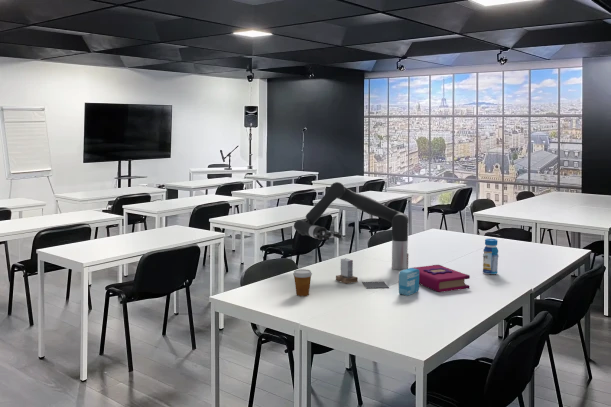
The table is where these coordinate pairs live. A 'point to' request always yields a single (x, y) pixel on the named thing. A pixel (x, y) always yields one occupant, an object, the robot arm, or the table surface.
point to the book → (441, 278)
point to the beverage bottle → (490, 257)
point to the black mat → (375, 284)
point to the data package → (408, 281)
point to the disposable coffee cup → (302, 281)
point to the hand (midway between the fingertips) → (334, 237)
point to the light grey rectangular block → (346, 268)
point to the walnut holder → (345, 280)
